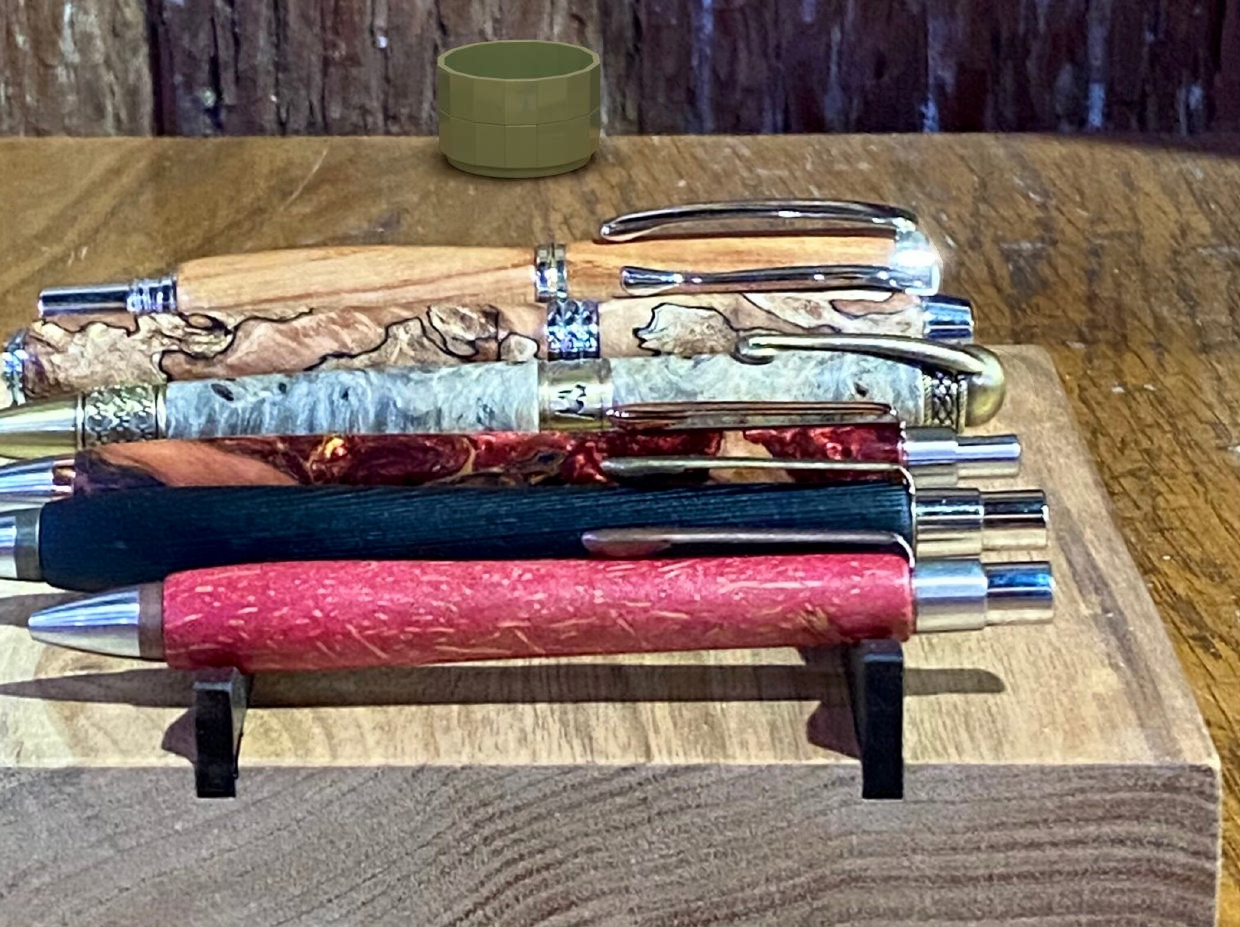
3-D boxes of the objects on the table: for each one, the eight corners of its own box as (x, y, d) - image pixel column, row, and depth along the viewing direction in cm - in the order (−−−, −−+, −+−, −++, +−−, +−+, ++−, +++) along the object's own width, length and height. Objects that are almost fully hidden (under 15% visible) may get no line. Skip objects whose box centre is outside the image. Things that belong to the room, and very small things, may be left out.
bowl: (594, 133, 119) (595, 38, 116) (603, 179, 112) (604, 79, 109) (440, 136, 119) (438, 41, 117) (439, 182, 112) (436, 82, 109)
